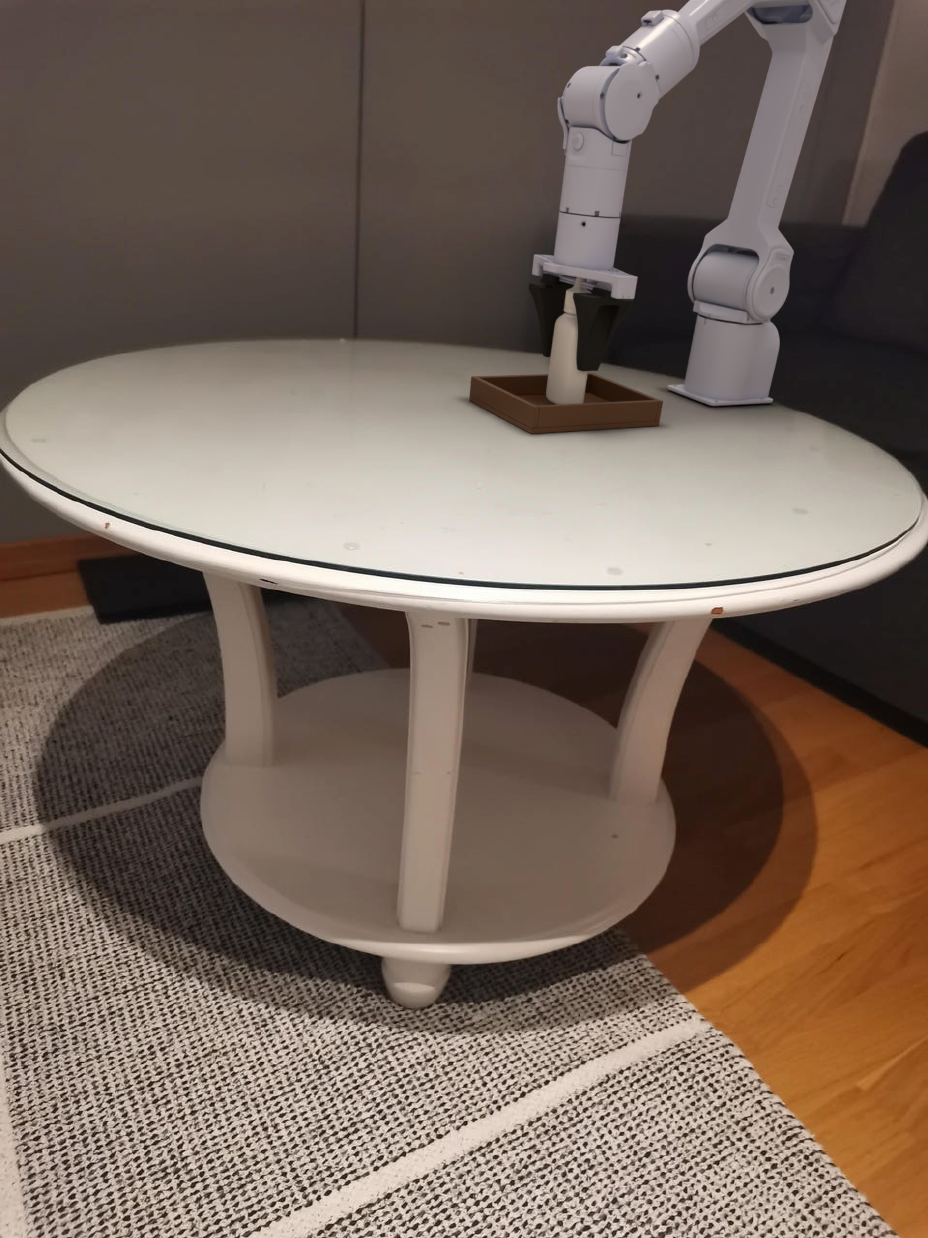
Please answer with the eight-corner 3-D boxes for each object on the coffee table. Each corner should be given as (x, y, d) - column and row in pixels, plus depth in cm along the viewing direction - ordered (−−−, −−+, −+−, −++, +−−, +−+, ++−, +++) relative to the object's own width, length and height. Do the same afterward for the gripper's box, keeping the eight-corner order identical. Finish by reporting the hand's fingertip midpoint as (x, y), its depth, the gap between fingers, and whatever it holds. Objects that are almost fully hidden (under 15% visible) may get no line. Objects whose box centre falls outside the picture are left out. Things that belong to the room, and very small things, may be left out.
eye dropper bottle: (590, 398, 97) (608, 276, 91) (579, 410, 92) (598, 281, 87) (548, 392, 98) (564, 270, 92) (536, 403, 93) (552, 275, 88)
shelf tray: (589, 395, 104) (592, 372, 103) (659, 425, 94) (663, 400, 93) (468, 400, 97) (470, 376, 96) (531, 433, 87) (534, 407, 86)
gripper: (513, 204, 91) (498, 347, 97) (600, 220, 80) (577, 381, 86) (573, 208, 94) (555, 347, 100) (665, 224, 83) (638, 379, 89)
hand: (569, 363), depth 93 cm, fingers closed on eye dropper bottle, 5 cm apart
